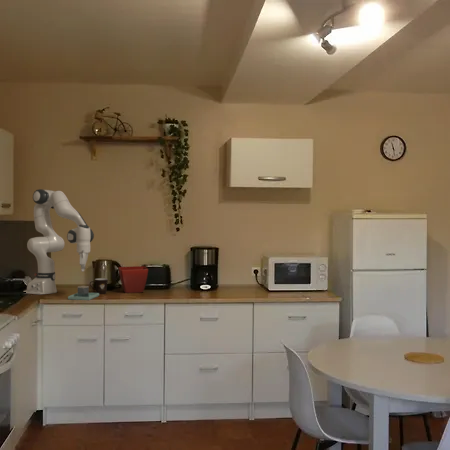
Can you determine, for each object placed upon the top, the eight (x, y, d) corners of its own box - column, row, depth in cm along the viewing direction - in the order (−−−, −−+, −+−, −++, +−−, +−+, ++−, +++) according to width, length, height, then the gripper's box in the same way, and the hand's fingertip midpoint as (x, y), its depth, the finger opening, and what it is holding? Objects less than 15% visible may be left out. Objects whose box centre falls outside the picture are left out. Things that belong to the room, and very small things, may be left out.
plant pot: (118, 289, 407) (118, 266, 406) (144, 288, 413) (144, 265, 412) (120, 294, 389) (120, 270, 388) (148, 293, 394) (148, 269, 393)
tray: (68, 299, 367) (67, 296, 367) (78, 295, 384) (78, 292, 384) (89, 300, 365) (89, 297, 365) (99, 295, 381) (99, 293, 381)
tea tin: (77, 297, 372) (77, 286, 372) (82, 296, 377) (82, 285, 377) (83, 297, 370) (83, 287, 370) (88, 296, 375) (88, 286, 374)
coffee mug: (109, 292, 395) (109, 278, 395) (105, 294, 386) (105, 280, 386) (93, 292, 396) (93, 277, 396) (89, 294, 388) (89, 279, 387)
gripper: (87, 251, 363) (87, 272, 364) (89, 247, 383) (89, 267, 384) (77, 251, 362) (77, 272, 363) (79, 247, 382) (79, 267, 383)
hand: (83, 270), depth 373 cm, fingers open, 8 cm apart
